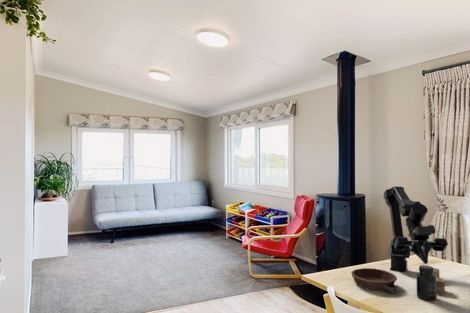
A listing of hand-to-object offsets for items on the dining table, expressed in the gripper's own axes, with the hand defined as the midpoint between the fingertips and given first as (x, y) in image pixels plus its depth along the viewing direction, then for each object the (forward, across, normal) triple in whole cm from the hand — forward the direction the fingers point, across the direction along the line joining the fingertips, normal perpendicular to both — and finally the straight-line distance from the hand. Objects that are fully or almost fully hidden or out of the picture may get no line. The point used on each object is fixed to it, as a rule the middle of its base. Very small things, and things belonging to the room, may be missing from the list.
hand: (426, 263), depth 133 cm
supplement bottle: (+10, 0, +10) cm, 14 cm away
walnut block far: (-5, +10, +24) cm, 27 cm away
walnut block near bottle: (+4, +7, +15) cm, 17 cm away
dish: (+2, -17, +17) cm, 24 cm away
